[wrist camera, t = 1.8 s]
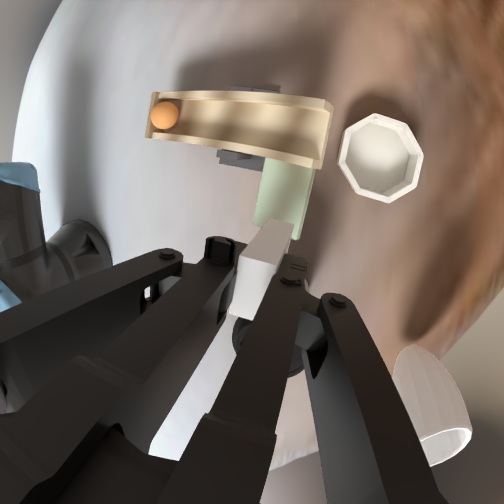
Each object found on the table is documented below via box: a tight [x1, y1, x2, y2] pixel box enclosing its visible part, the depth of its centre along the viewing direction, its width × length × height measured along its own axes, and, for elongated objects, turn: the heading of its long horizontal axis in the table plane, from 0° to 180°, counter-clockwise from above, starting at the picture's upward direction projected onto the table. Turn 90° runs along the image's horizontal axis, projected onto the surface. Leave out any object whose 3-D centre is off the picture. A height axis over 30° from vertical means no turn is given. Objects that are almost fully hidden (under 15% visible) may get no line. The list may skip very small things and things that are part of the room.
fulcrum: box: [216, 86, 279, 172], centre depth 32 cm, size 14×11×7 cm
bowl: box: [337, 113, 424, 203], centre depth 31 cm, size 10×10×4 cm
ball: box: [151, 102, 179, 129], centre depth 30 cm, size 4×4×4 cm
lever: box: [145, 91, 334, 240], centre depth 28 cm, size 22×13×3 cm, turn 80°
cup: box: [392, 344, 472, 467], centre depth 30 cm, size 10×10×22 cm
